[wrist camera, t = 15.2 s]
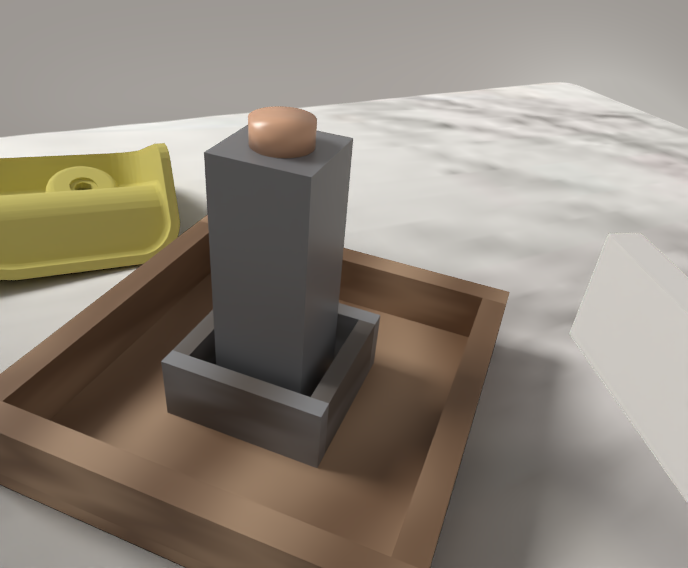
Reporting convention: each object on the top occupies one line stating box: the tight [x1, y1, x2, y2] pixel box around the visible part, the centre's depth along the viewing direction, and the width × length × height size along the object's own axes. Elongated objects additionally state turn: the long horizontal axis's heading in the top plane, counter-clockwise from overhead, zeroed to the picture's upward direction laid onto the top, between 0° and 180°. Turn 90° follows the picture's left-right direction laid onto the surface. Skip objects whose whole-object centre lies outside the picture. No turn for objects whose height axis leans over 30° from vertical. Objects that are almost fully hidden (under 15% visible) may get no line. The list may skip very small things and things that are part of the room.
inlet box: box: [0, 215, 509, 568], centre depth 28 cm, size 18×18×4 cm
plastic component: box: [0, 143, 180, 280], centre depth 38 cm, size 20×7×10 cm
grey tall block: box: [204, 107, 353, 397], centre depth 25 cm, size 4×4×13 cm
